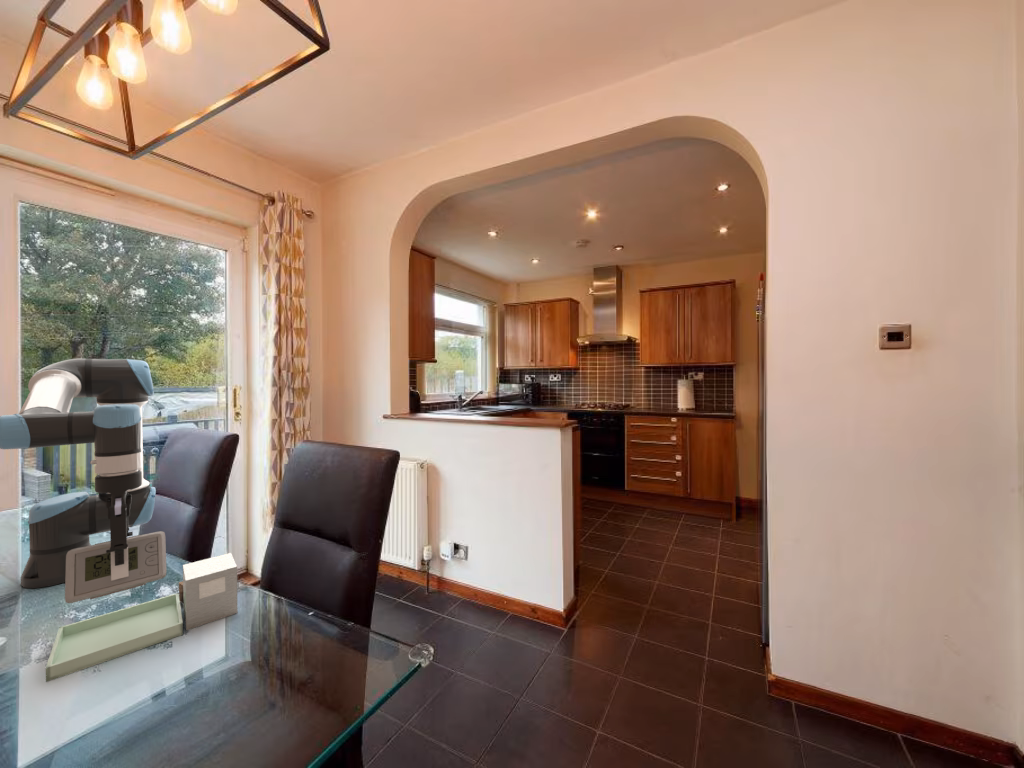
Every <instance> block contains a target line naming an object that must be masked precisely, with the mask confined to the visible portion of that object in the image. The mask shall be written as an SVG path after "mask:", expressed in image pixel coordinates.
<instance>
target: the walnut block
mask: <svg viewBox="0 0 1024 768" xmlns="http://www.w3.org/2000/svg"><path fill="white" fill-rule="evenodd" d="M178 593H179V600H180V604H183V580H182V581H180V582H178Z"/></svg>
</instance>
